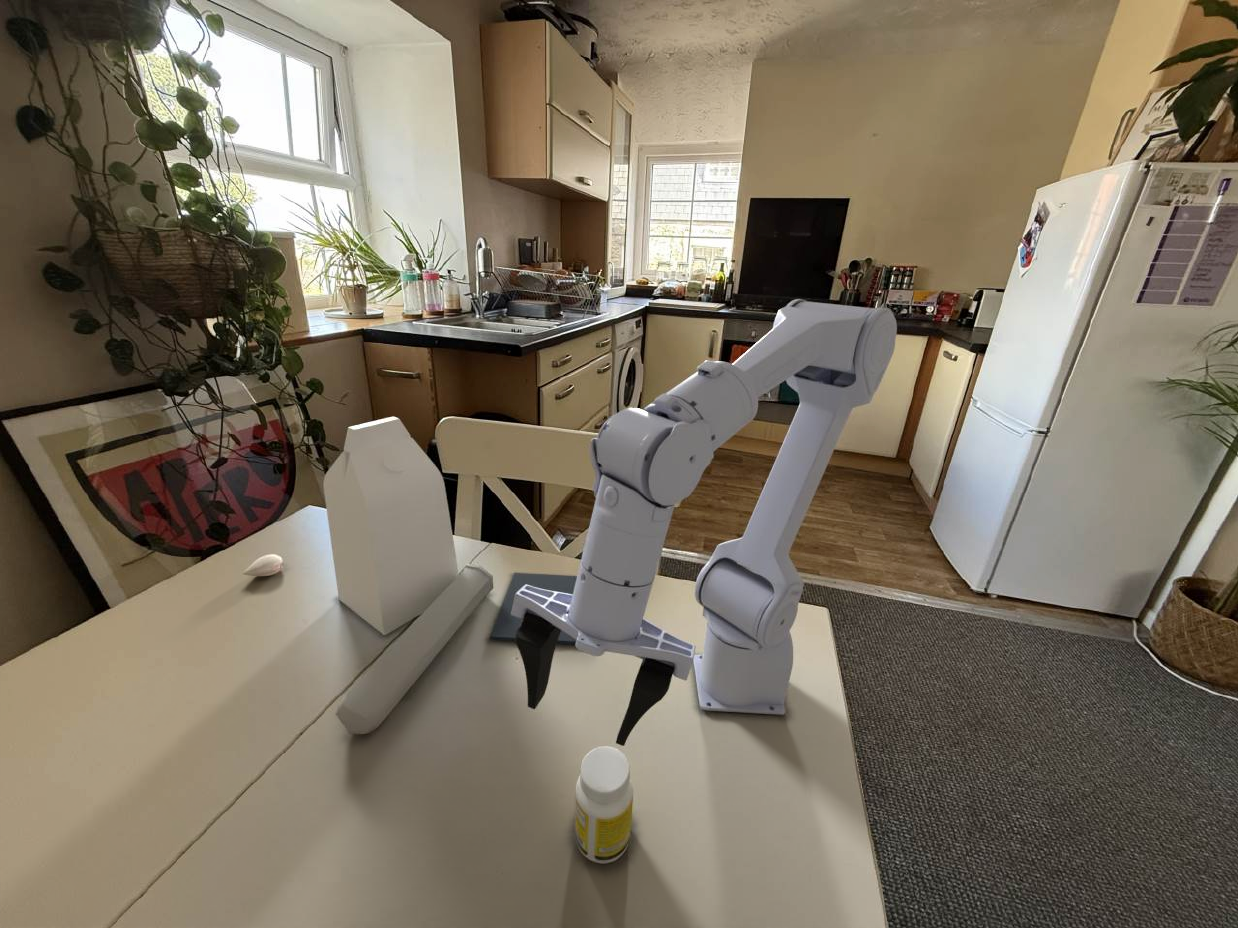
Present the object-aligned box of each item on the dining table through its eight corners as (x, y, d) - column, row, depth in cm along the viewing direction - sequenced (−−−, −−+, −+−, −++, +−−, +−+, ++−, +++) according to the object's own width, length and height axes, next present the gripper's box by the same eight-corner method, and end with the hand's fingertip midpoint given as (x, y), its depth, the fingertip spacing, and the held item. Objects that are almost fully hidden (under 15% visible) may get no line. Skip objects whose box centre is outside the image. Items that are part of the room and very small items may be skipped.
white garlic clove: (288, 572, 75) (285, 558, 74) (249, 587, 71) (245, 573, 70) (279, 561, 77) (275, 547, 76) (241, 575, 74) (236, 560, 73)
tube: (374, 723, 48) (498, 574, 70) (327, 697, 48) (465, 557, 70) (367, 754, 50) (489, 600, 72) (322, 729, 50) (457, 584, 73)
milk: (415, 561, 79) (393, 404, 69) (461, 590, 73) (444, 421, 63) (338, 599, 70) (300, 423, 60) (384, 635, 64) (350, 446, 54)
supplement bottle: (638, 821, 44) (644, 756, 41) (616, 876, 40) (620, 809, 37) (590, 797, 46) (592, 733, 43) (564, 847, 42) (564, 781, 39)
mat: (604, 580, 76) (604, 577, 76) (598, 646, 64) (598, 642, 63) (514, 575, 77) (514, 572, 76) (489, 640, 64) (489, 636, 63)
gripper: (507, 555, 35) (474, 715, 38) (707, 625, 32) (654, 792, 35) (546, 527, 42) (515, 665, 45) (713, 583, 39) (669, 727, 42)
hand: (578, 718), depth 40 cm, fingers open, 7 cm apart
